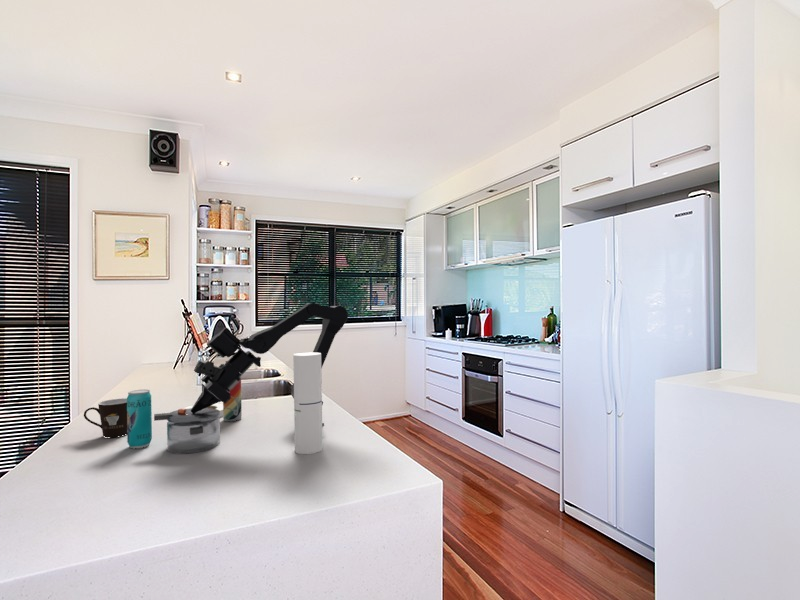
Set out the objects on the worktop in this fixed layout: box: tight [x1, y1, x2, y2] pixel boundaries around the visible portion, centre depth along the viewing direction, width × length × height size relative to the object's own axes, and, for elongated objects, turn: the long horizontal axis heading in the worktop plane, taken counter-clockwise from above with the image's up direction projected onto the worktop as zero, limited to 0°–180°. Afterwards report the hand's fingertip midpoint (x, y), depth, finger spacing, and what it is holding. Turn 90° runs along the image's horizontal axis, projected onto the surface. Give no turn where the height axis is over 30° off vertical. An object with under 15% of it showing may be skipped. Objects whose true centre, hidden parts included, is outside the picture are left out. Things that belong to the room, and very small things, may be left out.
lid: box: [153, 408, 221, 423], centre depth 118 cm, size 16×13×2 cm
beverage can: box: [126, 389, 153, 450], centre depth 119 cm, size 6×6×15 cm
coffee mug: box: [83, 397, 127, 438], centre depth 130 cm, size 12×9×10 cm
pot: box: [166, 417, 221, 455], centre depth 119 cm, size 13×18×7 cm
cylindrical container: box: [292, 351, 324, 455], centre depth 114 cm, size 7×7×25 cm
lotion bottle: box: [222, 360, 243, 422], centre depth 145 cm, size 6×6×20 cm
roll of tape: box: [182, 402, 223, 418], centre depth 152 cm, size 16×15×3 cm
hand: (191, 412), depth 119 cm, fingers closed, pressing on lid
